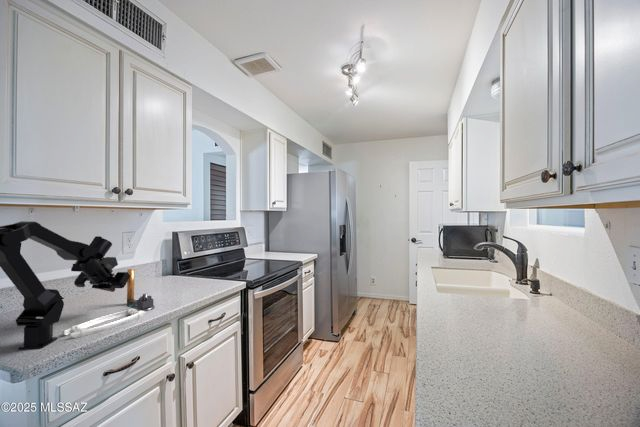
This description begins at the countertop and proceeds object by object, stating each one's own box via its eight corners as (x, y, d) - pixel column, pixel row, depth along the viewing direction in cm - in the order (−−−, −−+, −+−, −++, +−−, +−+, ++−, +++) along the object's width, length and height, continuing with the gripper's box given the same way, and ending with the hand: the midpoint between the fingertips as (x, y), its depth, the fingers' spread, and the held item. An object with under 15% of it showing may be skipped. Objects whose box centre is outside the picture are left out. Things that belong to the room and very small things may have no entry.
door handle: (57, 336, 94) (133, 312, 117) (75, 342, 91) (150, 316, 114) (57, 328, 94) (133, 305, 117) (75, 334, 91) (150, 309, 113)
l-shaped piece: (153, 307, 122) (154, 272, 122) (142, 310, 118) (143, 274, 118) (134, 301, 129) (134, 268, 129) (123, 303, 125) (123, 270, 125)
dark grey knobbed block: (150, 311, 118) (150, 296, 118) (131, 311, 117) (131, 296, 117) (157, 305, 125) (157, 291, 125) (140, 306, 124) (140, 292, 124)
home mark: (138, 304, 125) (138, 304, 125) (131, 306, 123) (131, 306, 123) (134, 303, 127) (134, 302, 127) (127, 305, 124) (127, 304, 124)
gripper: (128, 251, 113) (145, 274, 123) (81, 250, 113) (102, 273, 124) (112, 276, 105) (132, 298, 115) (62, 274, 105) (86, 296, 116)
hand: (113, 290), depth 118 cm, fingers closed
